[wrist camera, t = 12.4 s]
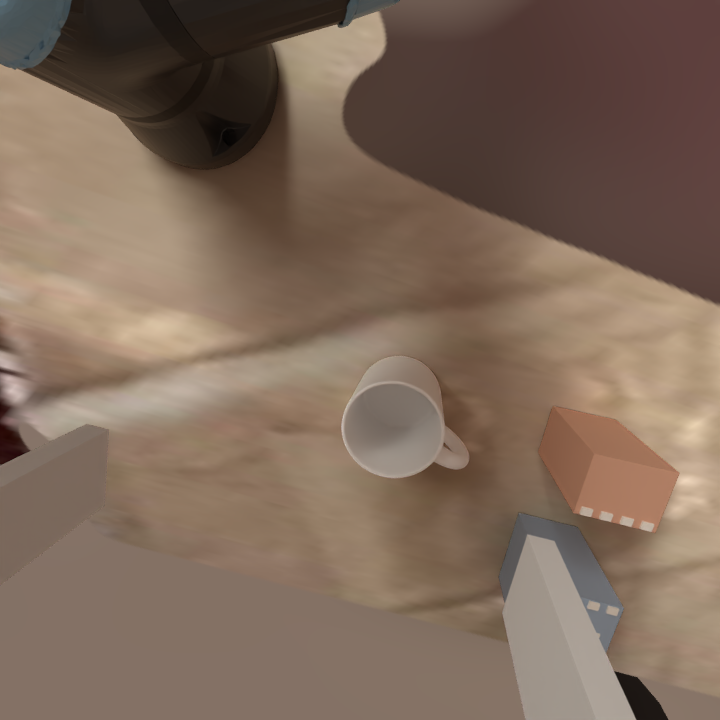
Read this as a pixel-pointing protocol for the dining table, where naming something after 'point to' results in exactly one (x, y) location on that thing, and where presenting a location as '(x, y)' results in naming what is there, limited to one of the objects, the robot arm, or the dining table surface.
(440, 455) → the mug
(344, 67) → the dining table surface
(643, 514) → the stub
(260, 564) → the dining table surface
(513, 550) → the toy oven block
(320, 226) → the dining table surface
